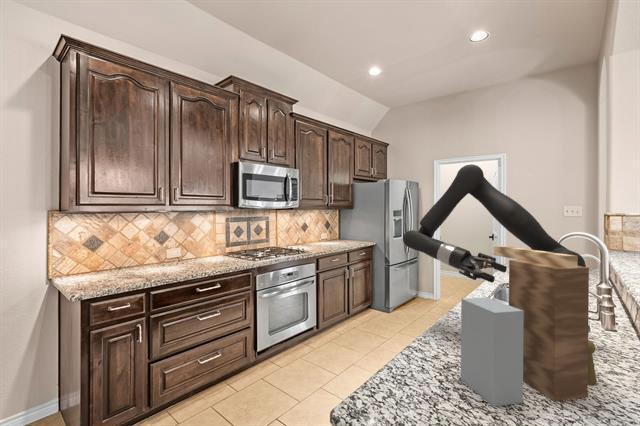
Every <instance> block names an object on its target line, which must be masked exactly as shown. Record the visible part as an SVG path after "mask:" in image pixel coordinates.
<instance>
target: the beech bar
mask: <svg viewBox="0 0 640 426" xmlns="http://www.w3.org/2000/svg"><path fill="white" fill-rule="evenodd" d="M493 256H497V257H502V258H507V259H511V260H523V261H529V262H535V263H540V264H546V265H551V266H557V267H562V268H577V265H578V256H575V255H567V254H560V253H553V252H545V251H538V250H532V249H531V248H521V247H514V246H508V245H493Z"/></svg>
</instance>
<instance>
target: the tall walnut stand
mask: <svg viewBox="0 0 640 426" xmlns="http://www.w3.org/2000/svg"><path fill="white" fill-rule="evenodd" d="M589 286H590V267H582V266H577V268H562V267H557V266H551V265H546V264H540V263H535V262H529V261H523V260H518V259H509V261H508V305H509V306H512V307H515V308H517V309H520V310H523V311H524V325H523V384H527V385H528V386H529V387H530V388H533V389H534V390H535V391H537V392H539V393H540V394H542V395H544V396H545V397H547V398H548V399H549V400H552V401H553V402H560V401H567V400H574V399H575V400H576V399H580V398H588V396H589V394H588V393H589V391H588V390H589V385H588V340H589V312H590V311H589V300H590V299H589V297H590V295H589V293H590V291H589V289H590V287H589Z"/></svg>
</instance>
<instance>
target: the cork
mask: <svg viewBox="0 0 640 426" xmlns="http://www.w3.org/2000/svg"><path fill="white" fill-rule="evenodd" d="M595 352H596V345H595V344H594V342H593V341H592V340H590V339H588V386H596V385H598V383H597V376H596V370H595V363H594V362H595V361H594V356H593V354H594V353H595Z"/></svg>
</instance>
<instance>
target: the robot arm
mask: <svg viewBox="0 0 640 426" xmlns="http://www.w3.org/2000/svg"><path fill="white" fill-rule="evenodd" d="M468 194H469V195H471V197H472V198H474V199H476V200H477V202H479V203H480V204H481V205H483V207H484V208H485V209H486V210H487V211H488V213H489V214H490V215H491V216H492V217H493V218H494V219H495V220H496V221H497V222H498V223H499V224H500V225H501V226H503V228H504V229H506V230H507V232H509V233H510V234H512V236H514V237H515V238H516V239H518V240H519V241H520V242H522V243H523V244H524V245H526V246H527V247H528V248H529V249H531V250H538V251H545V252H553V253H560V254H567V255H575V256H578V265H577V266H582V267H586V262H585V259H584V257H583V256H582V255H581V254H579V253H578V252H576V251H573V250H570V249H568V248H567V247H565V246H563V245H562V244H561V243H559V242H558V241H557V240H555V238H553V237H552V236H550V235H549V233H547V231H546V230H545V229H544V228H543V226H542V225H541V224H540V222H539V221H538V220H537V219H536V218H535V217H534V215H532V214H531V213H530V212H529V211H528V210H527V209H526V208H525V207H523V206H522V205H521V204H520V203H518V202H517V201H515V200H514V199H513V198H511V197H510V196H508V195H506V194H504V193H503V192H501V191H500V190H498V189H497V188H496V187H494V186H493V185H492V184H491V182H489V180H487V179H486V177H485V175H484V171H483V169H482V168H481V167H480V166H478V165H476V164H466V165H464V166H462V167H461V168H460V169H459V170H458V171H457V173H456V176H455V178H454V179H453V181H452V182H451V184H450V185H449V187H448V188H447V190H446V191H445V192H444V193H443V195H441V197H440V198H439V199H438V200H437V202H435V203H434V205H432V206H431V208H430V209H429V210H428V211H427V212H426V213H425V214H424V216H423V217H422V218H421V219H420V221H419V224H420V228H419V230H418V231H417V230H413V229H411V230H408V231H406V232H405V233H404V235H403V237H402V241H403V243H404V245H405V246H406V247H407V248H410V249H412V250H414V251H418V252H420V253H424V254H425V255H427V256H429V257H430V258H433V259H435V260H437V261H439V262H441V263H443V264H445V265H448V266H449V267H452V268H454V269H457V270H458V273H459V274H460V275H462V276H465V277H466V278H470V279H471V280H472V281H477V279H478V280H480V279H481V280H485V281H486V282H489V283H492V284H493V283H494V282H495V278H496V276H494V275H492V274H490V273H487V272H485V271H482V270H483V269H485V270H486V269H487V268H488V269H489V268H490V269H494V270H496V271H499V272H501V273H504V274H505V273H506V272H507V270H508V268H507V266H506V265H504V264H501V263H499V262H496V261H497V258H496V257H493V256H490V255H487V254H484V253H482V252H478V253H477V255H476V256H475V255H472V253H471V251H470V250H468V249H465V248H463V247H461V246H458V245H456V244H452V243H448V242H444V241H442V240H439V239H437V238H433V236H434V235H435V232H436V231H438V229H439V228H440V227H441V226H442V224H443V223H444V222H445V221H446V219H448V217H449V216H450V215H451V213H452V212H453V211H454V209H456V207H457V206H458V204H459V203H460V202H461V201H462V200H463V199H464V198H465V197H466V196H468Z"/></svg>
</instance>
